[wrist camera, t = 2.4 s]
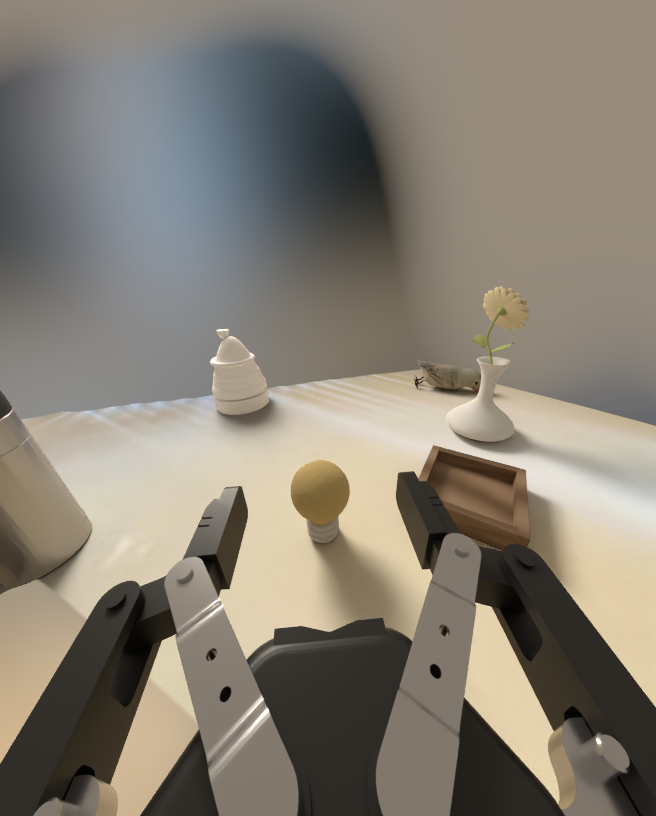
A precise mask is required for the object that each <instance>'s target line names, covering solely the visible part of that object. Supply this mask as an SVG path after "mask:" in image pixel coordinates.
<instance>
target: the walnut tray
mask: <svg viewBox="0 0 656 816" xmlns="http://www.w3.org/2000/svg"><path fill="white" fill-rule="evenodd" d="M419 481H426V482H427V483H429V484H430V485H431V486H432V487H433V488H434V489H435V491H436V492H437V494H438V496H439V498H440V499H441V501H442V502H443V505H444V506H445V507H446V509H447V511H448V513H449V514H450V516H451V518H452V519H453V521H454V523H455V524H456V526H457V528H458V529H459V531H460V533H461V534H464V535H466V536H469V537H471V538H474V539H476V540H478V541H481V542H483V543H486V544H488V545H491V546H493V547H496V548H498V549H501V550H503V551H504V548H505V547H506V546H508V545H510V544H518V545H522V546H525V547H527V545H528V543H529V541H530V531H529V515H528V499H527V482H526V470H524V469H520V468H516V467H513V466H509V465H505V464H501V463H498V462H494V461H490V460H486V459H483V458H479V457H475V456H471V455H468V454H464V453H460V452H456V451H453V450H449V449H445V448H441V447H438V446H434V445H433V447H432V450H431V452H430V454H429V456H428V459H427V461H426V463H425V465H424V468H423V470H422V472H421V474H420V477H419Z"/></svg>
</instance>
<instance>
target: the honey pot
mask: <svg viewBox="0 0 656 816" xmlns="http://www.w3.org/2000/svg"><path fill="white" fill-rule="evenodd" d="M228 333H229V331H228V329H220V330H217V334H218V335H219V337H221V338H222V339H224V340H223V341H222V342H221V344H220V347H219V349H218V353H217V356H216V357H214V358H213V359H211V361H210V364H211V365H212V366H214V367H215V371H214V374H213V377H214V379H213V386H212V392H213V395H214V399H215V403H216V407H217V410H218V411H219V412H221V413H222V414H227V415H242V414H247V413H251V412H254V411H257V410H259V409H261V408H263V407H264V406H266V405H267V404H268V402H269V395H268V389H267V384H266V380H265V378H264V377H263V376H262V373H261V371H260V368H259V367H258V366H257V364H256V363H255V361H254V359H255V356H254V355H253V354H252V353H249V351H248V350H247V349H246V347H245V346H244V345H243V344H242V343H241V342H240V341H239V340H238V339H236V338H235V337H232V336H228Z"/></svg>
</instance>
